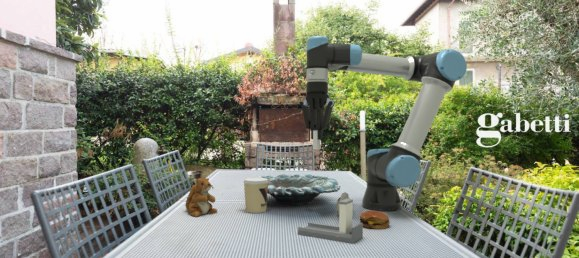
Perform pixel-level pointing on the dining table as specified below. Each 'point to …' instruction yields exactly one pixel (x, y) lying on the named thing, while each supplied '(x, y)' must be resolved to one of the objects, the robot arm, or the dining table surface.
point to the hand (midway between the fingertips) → (316, 148)
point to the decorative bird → (343, 196)
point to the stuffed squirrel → (200, 198)
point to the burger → (374, 219)
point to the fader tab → (345, 216)
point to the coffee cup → (256, 194)
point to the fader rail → (332, 232)
